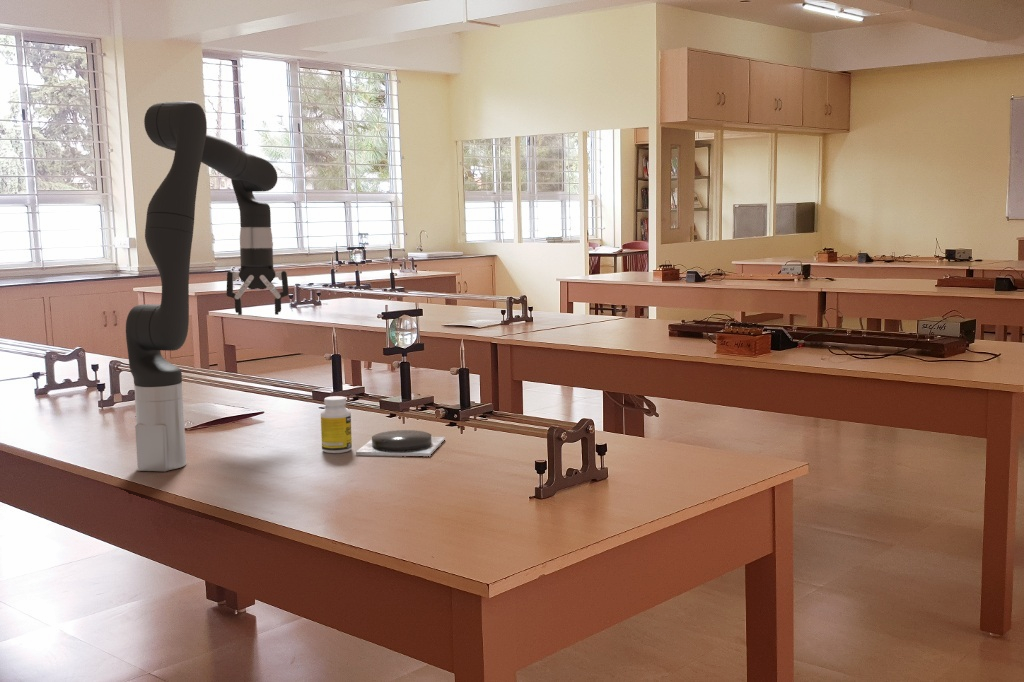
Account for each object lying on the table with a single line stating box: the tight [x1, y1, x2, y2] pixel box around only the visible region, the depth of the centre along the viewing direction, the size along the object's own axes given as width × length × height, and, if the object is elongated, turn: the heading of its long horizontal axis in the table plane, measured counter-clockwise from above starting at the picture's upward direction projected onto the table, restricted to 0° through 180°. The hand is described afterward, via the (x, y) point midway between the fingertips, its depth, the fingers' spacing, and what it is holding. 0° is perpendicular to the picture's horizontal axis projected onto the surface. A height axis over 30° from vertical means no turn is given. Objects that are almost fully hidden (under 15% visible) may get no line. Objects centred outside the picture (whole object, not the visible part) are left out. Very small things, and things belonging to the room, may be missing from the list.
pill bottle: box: [320, 395, 353, 454], centre depth 216 cm, size 6×6×12 cm
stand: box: [355, 429, 446, 458], centre depth 219 cm, size 16×16×2 cm
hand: (258, 314), depth 238 cm, fingers open, 8 cm apart
